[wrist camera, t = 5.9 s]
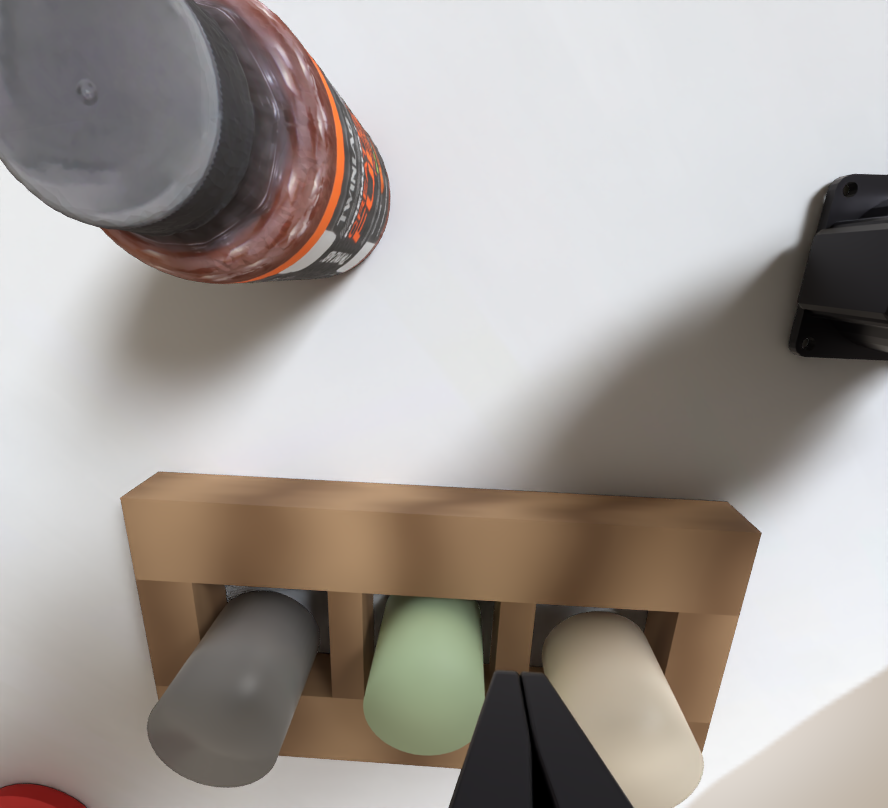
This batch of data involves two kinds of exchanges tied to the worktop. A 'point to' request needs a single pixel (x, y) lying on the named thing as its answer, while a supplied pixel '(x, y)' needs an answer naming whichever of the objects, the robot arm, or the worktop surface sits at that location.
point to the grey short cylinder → (237, 692)
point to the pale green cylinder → (426, 675)
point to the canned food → (36, 797)
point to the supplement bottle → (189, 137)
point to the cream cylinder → (624, 706)
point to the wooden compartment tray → (434, 578)
